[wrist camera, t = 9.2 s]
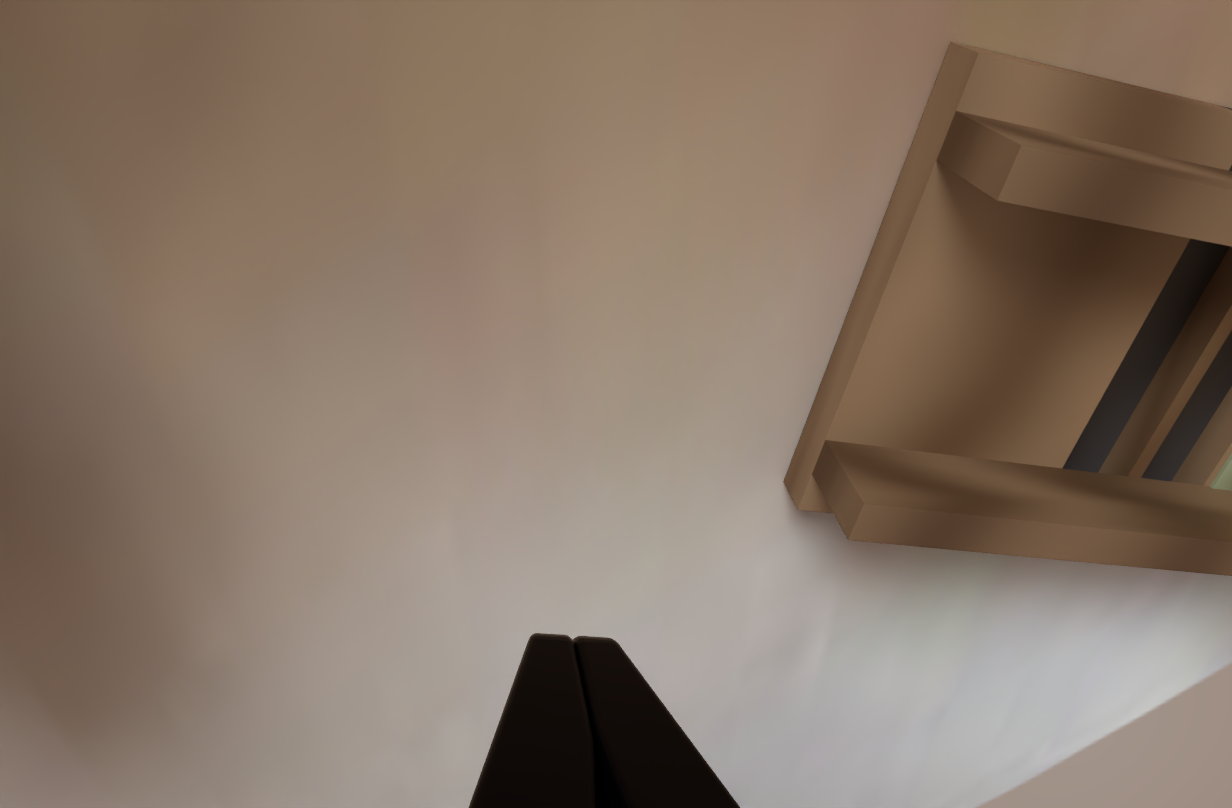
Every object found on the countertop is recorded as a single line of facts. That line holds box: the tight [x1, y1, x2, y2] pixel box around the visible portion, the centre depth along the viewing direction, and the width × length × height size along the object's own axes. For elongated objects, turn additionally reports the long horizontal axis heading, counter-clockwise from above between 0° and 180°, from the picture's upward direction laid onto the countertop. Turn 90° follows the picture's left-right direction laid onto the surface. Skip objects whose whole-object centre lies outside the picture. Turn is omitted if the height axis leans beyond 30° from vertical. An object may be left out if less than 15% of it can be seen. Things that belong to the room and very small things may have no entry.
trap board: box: [784, 42, 1232, 576], centre depth 21 cm, size 17×11×4 cm, turn 78°
